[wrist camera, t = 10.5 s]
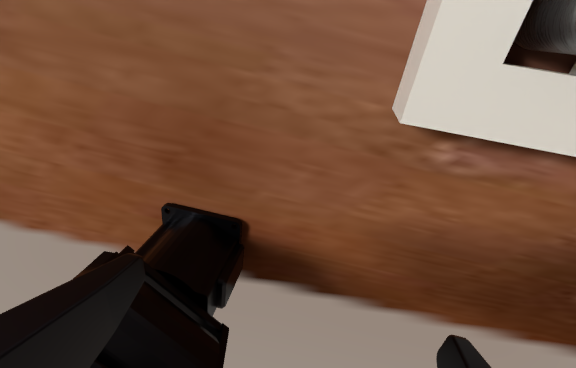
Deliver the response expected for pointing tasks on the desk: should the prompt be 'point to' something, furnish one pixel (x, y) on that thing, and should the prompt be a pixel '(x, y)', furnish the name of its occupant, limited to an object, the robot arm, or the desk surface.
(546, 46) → the metal peg
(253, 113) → the desk surface
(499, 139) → the hole block
